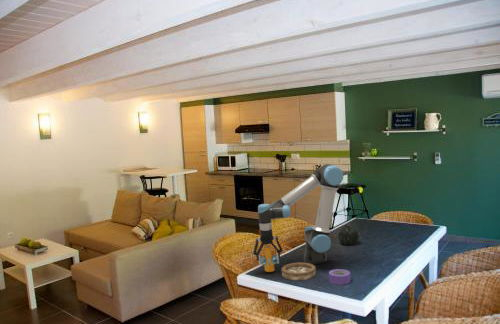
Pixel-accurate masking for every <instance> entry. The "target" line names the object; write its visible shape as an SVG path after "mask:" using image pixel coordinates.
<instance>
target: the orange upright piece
mask: <svg viewBox="0 0 500 324" xmlns="http://www.w3.org/2000/svg"><path fill="white" fill-rule="evenodd" d="M271 246H272V245H266V246H265V245H264V246H263V247H264V256H265V257H264V256H260V262H261V266H264V271H265V272H267V273H272V272H274V271H275V265H276V264H278V259H277V255H276V254H273V255H272V247H271Z"/></svg>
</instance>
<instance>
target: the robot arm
mask: <svg viewBox="0 0 500 324" xmlns="http://www.w3.org/2000/svg"><path fill="white" fill-rule="evenodd" d="M343 180H344V173H343V170H342V169H341V168H340V167H339V166H337V165H334V164H330V163H329V164H328V163H327V164H324V165H322V166H320V167H319V168H318V169H316V170H315V171H314V172H312V173H311V176H310V177H307V179H306V180H304V181H302V182H301V183H300V184H299V185H297V186H296V187H294V189H291V191H289V192H288V193H287V194H284V195H283V196H282V197H281V198H279V199H278V200H277V201H273V202H271V204H270V203H261V204H258V206H257V213H258V214H257V215H258V224H259V234H260V237H258V238H257V237H256V238H255V244H254V247H253V255H254V256H256V260H257V262H258V265H259V267H261V266H262V264H261V262H260V257H261V256H260V253H261V251H262V249H263V247H265V245H266V246H267V245H271V246H272V247H273V248H274V249H275V251H276V252H275V253H276V254H275V256H276V257H277V259H278V263H277V264H280V261H279V260H280V258H281V253H282V252H283V249H282V246H281V244H280V241H279V237H278V236H277V235H276V236H274V235H273V226H272V220H275V219H276V220H277V219H286V218H287V219H288V218H290V216H291V209H290V207H291V206H292V205H294V204H295V203H297V202H298V201H299V200H301V199H302V198H303V197H305V196H306V195H307V194H309V193H310V192H311V191H313V190H314V189H315V188H317V187H321V193H320V196H319V197H320V198H319V202H318V203H319V204H318V209H317V214H316V219H315V224H314V225H308V226H306V227H304V240H305V251H304V254H303V261H304V262H303V263H309V264H313V265H320V264H324V263H326V262H328V256H327V254H326V252H327V251H328V250H329V249H330V248H331V244H332V242H331V233H332V232H331V229H330V224H331V219H332V214H333V208H334V203H335V198H336V192H337V191H338V190H339V188H340V184H341V183H342V182H343ZM273 240H274V241H275V242H276V244H277V246H278V247H277V246H276V245H275V243H274V242H273ZM260 241H261V243H260ZM259 243H260V245H259ZM258 247H259V248H258ZM277 259H276V260H277Z"/></svg>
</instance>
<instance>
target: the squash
mask: <svg viewBox="0 0 500 324" xmlns="http://www.w3.org/2000/svg"><path fill="white" fill-rule="evenodd" d="M337 236H338V240H339V243H341V244H342V245H346V246H349V245H350V246H352V245H355V244H357V242H358V240H359V237H360V236H359V233H358V231H357V230H356V229H355V228H354V227H352V226H350V225H347V224H345V225H343V226H342V227H341V229H339V232H338V235H337Z"/></svg>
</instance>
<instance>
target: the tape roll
mask: <svg viewBox="0 0 500 324" xmlns="http://www.w3.org/2000/svg"><path fill="white" fill-rule="evenodd" d="M328 281H329V283H330V284H333V285H338V286H341V285H342V286H343V285H347V284H348V285H349V284H350V283H351V272H350V271H349V270H348V269H341V268H339V269H338V268H336V269H332V270H330V271H329V272H328Z"/></svg>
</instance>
